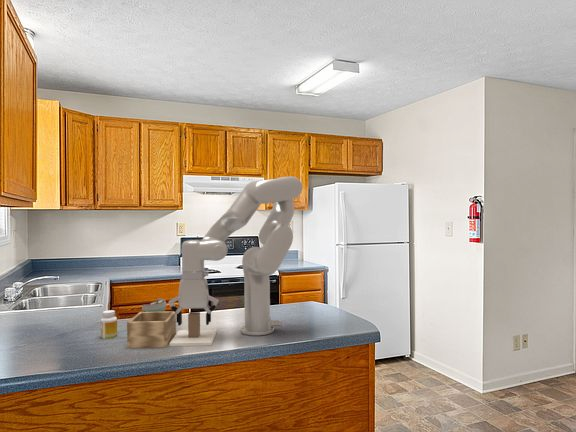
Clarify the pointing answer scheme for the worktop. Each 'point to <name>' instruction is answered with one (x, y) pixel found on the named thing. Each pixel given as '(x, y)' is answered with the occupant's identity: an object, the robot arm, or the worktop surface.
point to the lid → (193, 334)
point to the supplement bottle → (108, 325)
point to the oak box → (151, 329)
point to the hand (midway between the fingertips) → (193, 324)
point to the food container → (155, 306)
